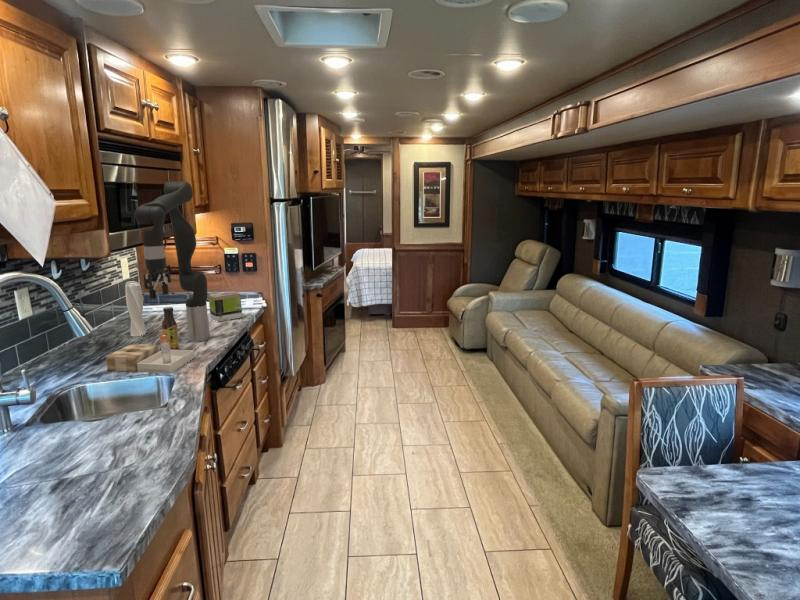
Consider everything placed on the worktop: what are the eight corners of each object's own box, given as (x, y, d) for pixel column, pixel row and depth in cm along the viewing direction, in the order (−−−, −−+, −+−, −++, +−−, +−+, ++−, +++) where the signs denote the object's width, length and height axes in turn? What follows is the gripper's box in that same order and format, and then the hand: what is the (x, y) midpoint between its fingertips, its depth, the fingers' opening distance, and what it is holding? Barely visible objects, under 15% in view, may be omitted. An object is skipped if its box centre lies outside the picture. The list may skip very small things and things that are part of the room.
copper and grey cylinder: (165, 360, 200) (162, 333, 197) (172, 361, 199) (169, 333, 197) (161, 363, 197) (157, 335, 194) (168, 363, 196) (165, 336, 194)
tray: (164, 356, 208) (163, 349, 207) (194, 358, 206) (193, 350, 205) (137, 371, 190) (136, 363, 189) (170, 373, 189) (169, 365, 188)
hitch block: (133, 357, 207) (131, 343, 206) (159, 358, 206) (157, 345, 204) (107, 370, 192) (105, 356, 190) (135, 371, 190) (133, 357, 189)
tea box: (236, 315, 279) (234, 290, 276) (242, 318, 272) (241, 293, 269) (210, 319, 270) (208, 293, 267) (216, 322, 263) (214, 296, 259)
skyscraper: (141, 337, 235) (135, 281, 229) (126, 337, 235) (119, 281, 229) (150, 332, 243) (144, 279, 237) (135, 332, 243) (129, 278, 237)
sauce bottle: (173, 352, 213) (168, 309, 209) (160, 351, 214) (156, 309, 210) (182, 348, 219) (178, 306, 215) (170, 347, 220) (166, 305, 216)
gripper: (156, 254, 197) (161, 292, 201) (134, 259, 183) (140, 300, 187) (173, 254, 196) (178, 292, 200) (153, 259, 182) (158, 300, 186)
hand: (159, 296), depth 193 cm, fingers open, 8 cm apart
